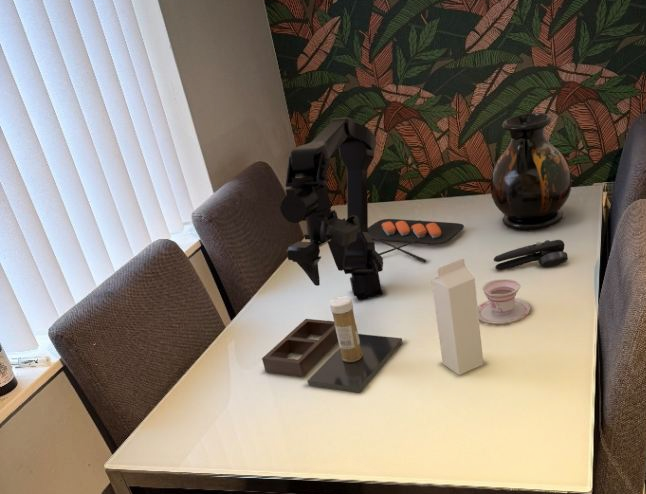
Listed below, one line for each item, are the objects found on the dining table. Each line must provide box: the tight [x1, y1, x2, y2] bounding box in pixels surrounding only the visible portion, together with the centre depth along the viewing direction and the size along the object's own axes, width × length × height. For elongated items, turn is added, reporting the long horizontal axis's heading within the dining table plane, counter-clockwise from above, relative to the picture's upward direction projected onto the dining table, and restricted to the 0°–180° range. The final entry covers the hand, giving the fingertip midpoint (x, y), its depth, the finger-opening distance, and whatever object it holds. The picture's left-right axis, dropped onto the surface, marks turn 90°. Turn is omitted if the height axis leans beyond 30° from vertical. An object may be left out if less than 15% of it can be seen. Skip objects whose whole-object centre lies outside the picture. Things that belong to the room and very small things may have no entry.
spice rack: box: [261, 318, 339, 378], centre depth 166 cm, size 18×10×4 cm, turn 153°
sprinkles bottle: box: [329, 295, 363, 362], centre depth 156 cm, size 5×5×13 cm
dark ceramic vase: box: [490, 112, 572, 232], centre depth 205 cm, size 22×22×28 cm
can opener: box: [493, 239, 569, 271], centre depth 186 cm, size 18×7×6 cm, turn 88°
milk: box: [430, 258, 484, 376], centre depth 147 cm, size 6×6×22 cm
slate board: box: [307, 333, 404, 393], centre depth 159 cm, size 20×12×1 cm, turn 153°
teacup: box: [478, 278, 531, 325], centre depth 167 cm, size 12×12×6 cm
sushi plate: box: [368, 218, 465, 263], centre depth 211 cm, size 29×30×4 cm
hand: (329, 277), depth 168 cm, fingers open, 9 cm apart
